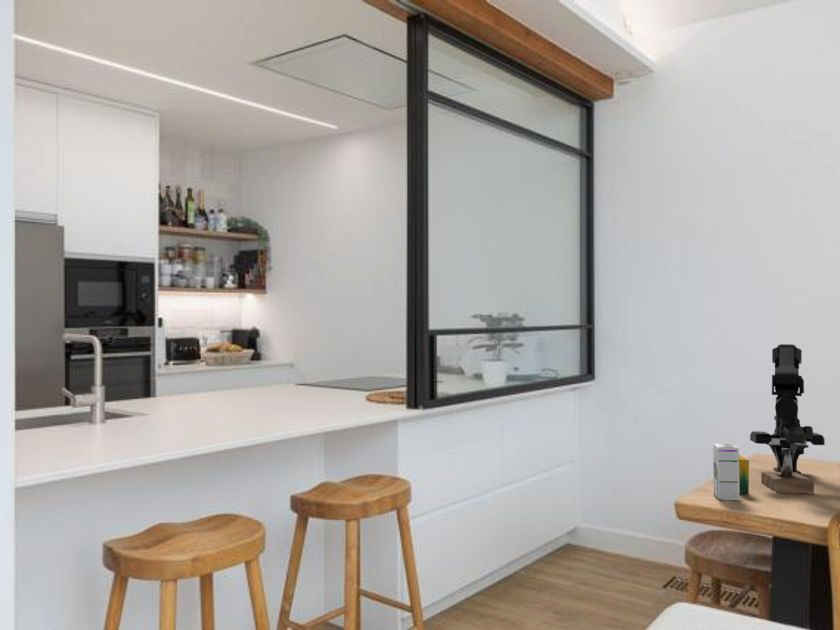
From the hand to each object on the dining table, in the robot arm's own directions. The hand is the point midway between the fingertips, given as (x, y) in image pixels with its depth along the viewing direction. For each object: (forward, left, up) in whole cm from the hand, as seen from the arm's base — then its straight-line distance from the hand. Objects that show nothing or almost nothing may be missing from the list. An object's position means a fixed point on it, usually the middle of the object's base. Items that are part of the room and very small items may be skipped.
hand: (786, 467), depth 203 cm
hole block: (0, 0, -6) cm, 6 cm away
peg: (0, 0, -2) cm, 2 cm away
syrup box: (+14, -21, -6) cm, 26 cm away
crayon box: (+6, -15, -6) cm, 17 cm away
